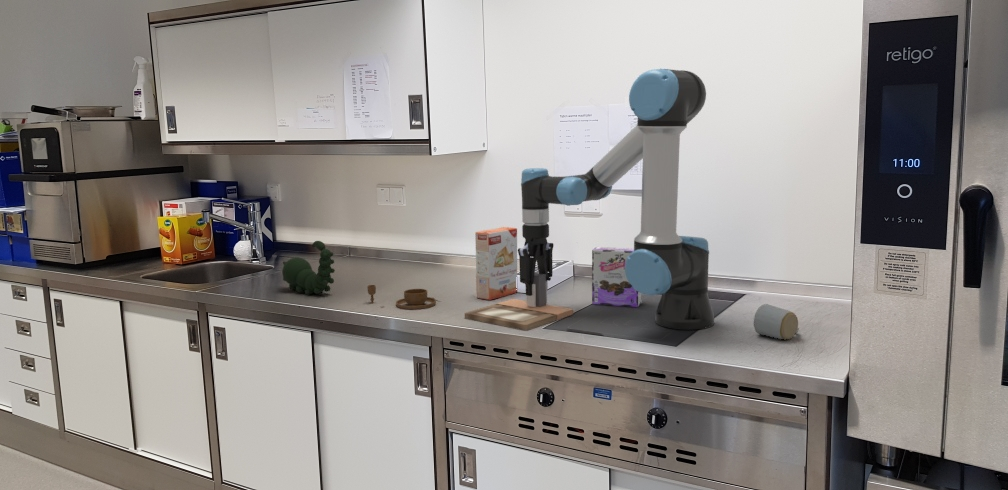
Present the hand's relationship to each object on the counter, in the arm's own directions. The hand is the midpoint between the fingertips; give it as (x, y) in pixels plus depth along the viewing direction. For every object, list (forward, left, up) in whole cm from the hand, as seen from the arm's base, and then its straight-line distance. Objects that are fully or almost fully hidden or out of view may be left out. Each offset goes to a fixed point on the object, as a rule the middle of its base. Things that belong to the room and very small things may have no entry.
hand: (536, 304), depth 217 cm
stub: (0, +1, -2) cm, 2 cm away
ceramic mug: (-64, -14, -2) cm, 66 cm away
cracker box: (+22, -8, -2) cm, 24 cm away
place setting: (+38, +15, -3) cm, 41 cm away
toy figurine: (+77, +24, -2) cm, 81 cm away
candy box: (-14, -20, -2) cm, 24 cm away
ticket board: (0, +12, -2) cm, 12 cm away
